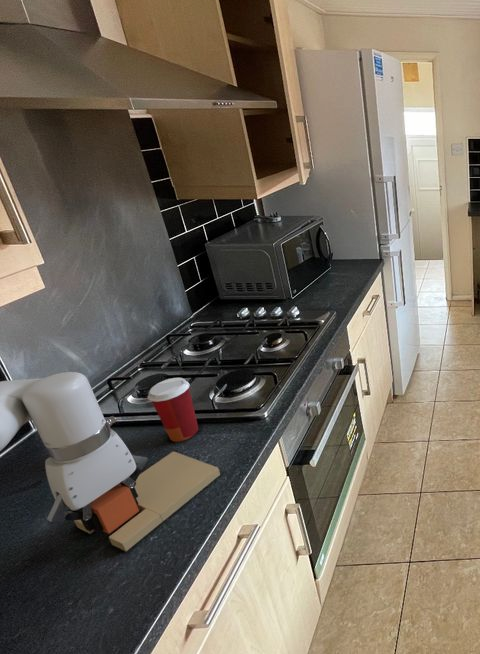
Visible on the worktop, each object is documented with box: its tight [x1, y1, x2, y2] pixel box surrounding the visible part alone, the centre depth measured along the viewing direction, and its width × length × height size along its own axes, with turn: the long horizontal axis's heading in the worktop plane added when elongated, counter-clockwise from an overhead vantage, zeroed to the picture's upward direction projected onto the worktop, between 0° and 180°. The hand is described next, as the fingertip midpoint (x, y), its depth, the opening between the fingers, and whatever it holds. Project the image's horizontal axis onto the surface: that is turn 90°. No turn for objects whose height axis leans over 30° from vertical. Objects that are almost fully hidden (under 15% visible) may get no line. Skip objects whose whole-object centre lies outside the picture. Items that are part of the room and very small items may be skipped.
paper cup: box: [147, 377, 199, 443], centre depth 99 cm, size 8×8×14 cm
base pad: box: [73, 451, 221, 552], centre depth 84 cm, size 18×14×2 cm
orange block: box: [92, 484, 140, 535], centre depth 78 cm, size 5×5×6 cm
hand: (114, 515), depth 78 cm, fingers closed on orange block, 4 cm apart
